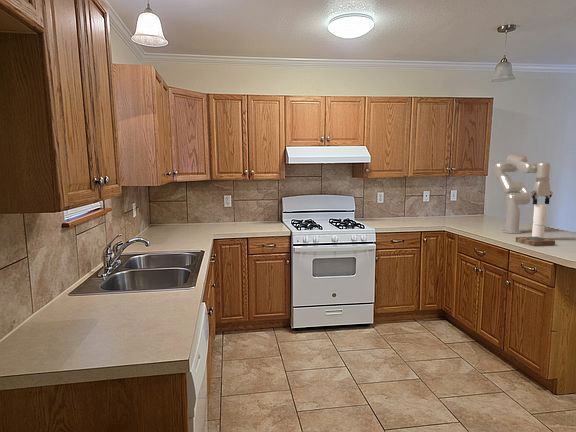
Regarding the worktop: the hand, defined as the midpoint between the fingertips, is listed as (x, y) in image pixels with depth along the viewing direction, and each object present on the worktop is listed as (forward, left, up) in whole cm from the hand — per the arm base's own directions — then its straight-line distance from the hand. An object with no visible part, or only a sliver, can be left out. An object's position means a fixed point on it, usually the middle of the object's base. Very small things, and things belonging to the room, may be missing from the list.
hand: (540, 204), depth 264 cm
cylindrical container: (0, 0, -26) cm, 26 cm away
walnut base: (+12, -13, -26) cm, 31 cm away
